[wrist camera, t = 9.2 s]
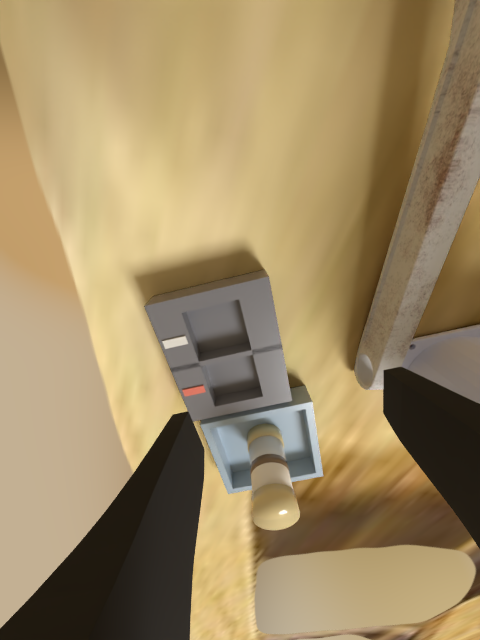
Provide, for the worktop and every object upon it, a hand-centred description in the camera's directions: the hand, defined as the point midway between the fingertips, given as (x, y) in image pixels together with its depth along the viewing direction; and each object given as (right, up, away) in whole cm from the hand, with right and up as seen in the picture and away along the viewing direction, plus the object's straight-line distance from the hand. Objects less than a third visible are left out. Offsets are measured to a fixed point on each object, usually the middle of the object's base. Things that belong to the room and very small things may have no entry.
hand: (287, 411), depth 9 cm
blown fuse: (0, -7, +14) cm, 15 cm away
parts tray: (0, -7, +14) cm, 16 cm away
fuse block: (-3, +1, +10) cm, 11 cm away
